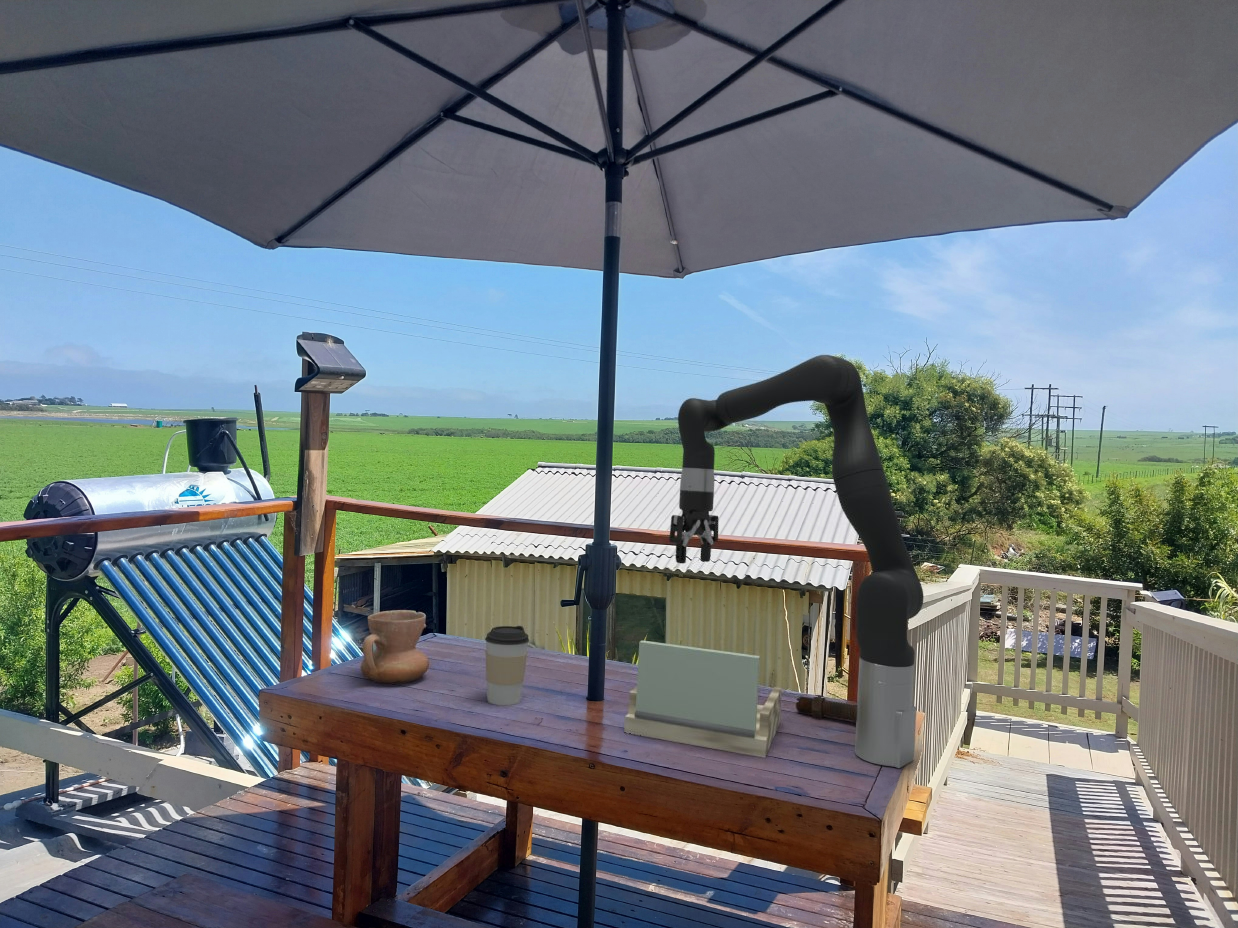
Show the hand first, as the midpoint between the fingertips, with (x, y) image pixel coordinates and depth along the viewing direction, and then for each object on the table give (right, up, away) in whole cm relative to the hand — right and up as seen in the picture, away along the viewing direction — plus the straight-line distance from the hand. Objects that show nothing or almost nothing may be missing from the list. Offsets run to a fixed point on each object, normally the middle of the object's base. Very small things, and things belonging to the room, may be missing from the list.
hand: (693, 562), depth 165 cm
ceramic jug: (-66, -26, -1) cm, 71 cm away
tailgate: (-3, -26, -31) cm, 40 cm away
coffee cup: (-40, -27, -11) cm, 50 cm away
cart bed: (0, -29, -21) cm, 36 cm away
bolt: (+28, -31, -12) cm, 43 cm away
